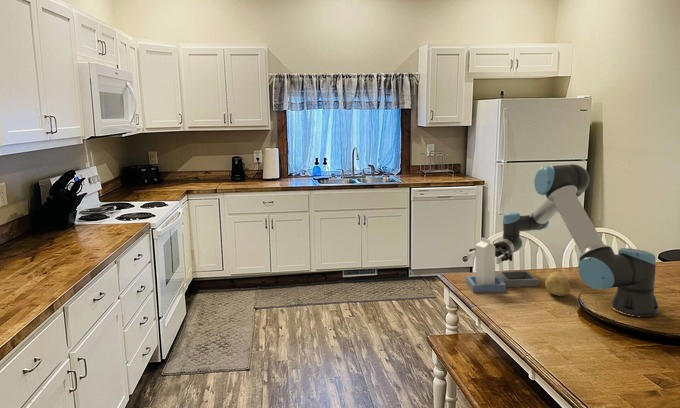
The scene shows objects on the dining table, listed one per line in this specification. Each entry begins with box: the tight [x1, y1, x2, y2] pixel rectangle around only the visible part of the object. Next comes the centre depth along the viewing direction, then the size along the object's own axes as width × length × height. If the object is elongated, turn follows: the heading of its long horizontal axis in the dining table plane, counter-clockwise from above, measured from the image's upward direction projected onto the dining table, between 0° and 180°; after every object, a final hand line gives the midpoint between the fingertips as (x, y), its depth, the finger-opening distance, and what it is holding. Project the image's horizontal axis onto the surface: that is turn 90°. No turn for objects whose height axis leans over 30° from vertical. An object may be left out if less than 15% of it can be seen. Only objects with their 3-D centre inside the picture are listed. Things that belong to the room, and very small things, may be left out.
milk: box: [475, 237, 496, 285], centre depth 211 cm, size 6×6×22 cm
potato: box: [544, 270, 571, 297], centre depth 199 cm, size 10×14×10 cm
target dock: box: [465, 274, 507, 293], centre depth 212 cm, size 14×14×3 cm
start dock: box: [496, 270, 539, 288], centre depth 218 cm, size 14×14×3 cm
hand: (482, 258), depth 209 cm, fingers open, 13 cm apart
